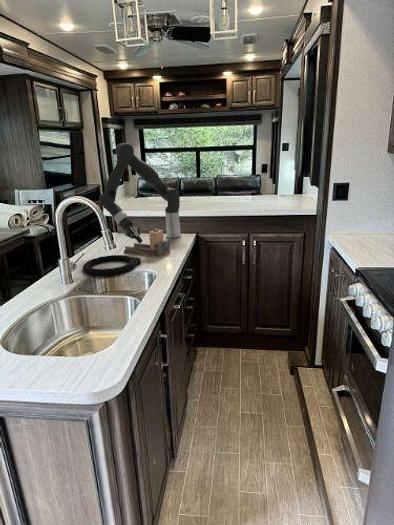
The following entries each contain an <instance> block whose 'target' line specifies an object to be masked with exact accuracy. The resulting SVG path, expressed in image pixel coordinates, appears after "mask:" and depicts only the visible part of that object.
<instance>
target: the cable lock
mask: <svg viewBox="0 0 394 525" xmlns="http://www.w3.org/2000/svg"><path fill="white" fill-rule="evenodd" d="M104 262H105V263H109V262H123V263H127V264H124V265H121V266H118V267H112V268H94V266H96V265H99V264H105V263H104ZM141 264H142V259H141V257H140V256H139V257H138V256H137V257H134V256H129V255H124V254H113V255H105V256H99V257H96V258H95V257H94V258H92V259H90V260H87V261H86V262H85V263H84V264H83V265H82V270H83V273H85V274H87V275H90V276H95V277H107V276H108V277H110V276H115V275H121V274H123V273H124V274H125V273H128V272H130V271H131V270H133V269H134V268H135V267H137V266H138V265H141ZM92 267H93V268H92Z"/></svg>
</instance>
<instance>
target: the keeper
mask: <svg viewBox="0 0 394 525" xmlns="http://www.w3.org/2000/svg"><path fill="white" fill-rule="evenodd" d="M148 232H149V233H148V236H149V245H150V249H152V250H155V246H154V244H156V243H159V242H161V241H164V240H165V239H164V231H163V229H159V228H153V230H151V231H148Z"/></svg>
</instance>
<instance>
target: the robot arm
mask: <svg viewBox="0 0 394 525" xmlns="http://www.w3.org/2000/svg"><path fill="white" fill-rule="evenodd" d="M114 152H115V154H116V157H118V158H117V161H116V165H115V166H114V167H113V169H112V171H111V172H110V174H109V176H108V178H107V181H106V184H105V189H106V192H105V193H102V194H100V195H99V197H98V201H99V203H100V205H101V206H102V207H103V208H104V209H105V210H107V212H109V214H110V215H111V217H112V218H113V219H114V220H115V223H116V224H118V226H119V227H120V228H121V229H122V230H123V231H124V234H123V235H125V236H126V237H128V238H130V239H131V240H133V239H134V240H136V241H137V243H141V244H142V242H143V239H142V238H141V234H142V233H141V228H140V227H136V226H135V225H134V222H133V220H132V219H131V217H129V215H128V214H127V213H126V212H125V211H124V210H123V209H122V208H121V207H120V205H118V204H116V203H115V201H116V197H117V191H118V189H119V186H120V182H121V180H122V178H123V175H124V173H125V171H126V169H127V167H128V166H129V167H130V168H131V169H132V170H133V171H134V172H135V173H136V174H137V175H138V176H139V177H140V178H141V179H142V180H143V181H145V183H147V184H148V186H150V187H151V188H152V189H153V190H155V191H156V192H157V193H158V194H159V196H160V197H161V198H162V199H163V200H164V201H165V202H167V206H166V207H165V208H164V211H165V228H166V237H167V238H169V239H175V238H176V239H177V238H180V237H181V222H180V206H181V205H180V204H181V203H180V200H181V199H180V198H181V197H180V196H181V195H180V192H179V190H178V189H177V188H174V187H173V188H172V187H169V186H168V185H166V183H164V181H162V179H161V177H160V175H159V173H158V172H157V171H156V170H155V169H154V168H153V167H152V166H150V164H148V163H147V162H145V161H143V160H142V159H140V158H138V157H137V155H135V149H134V147H133V145H132V144H130V143H127V142H123V143H122V142H121V143H118V144H117V145H116V146H115V149H114Z"/></svg>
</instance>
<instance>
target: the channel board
mask: <svg viewBox="0 0 394 525" xmlns="http://www.w3.org/2000/svg"><path fill="white" fill-rule="evenodd" d="M163 240H164V241H161V242H159V243H156V244H154V246H155V250H152V249H150V243H149V244H148V243H142V242H141V243H139V242H135V243H134V242H133V246H129V245H127V246H124V250H123V254H131V255H136V256H144V257H153V258H160V257H162V256H164V255H167V254H169V253H171V246H170V245H171V244H170V239H163Z"/></svg>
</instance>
